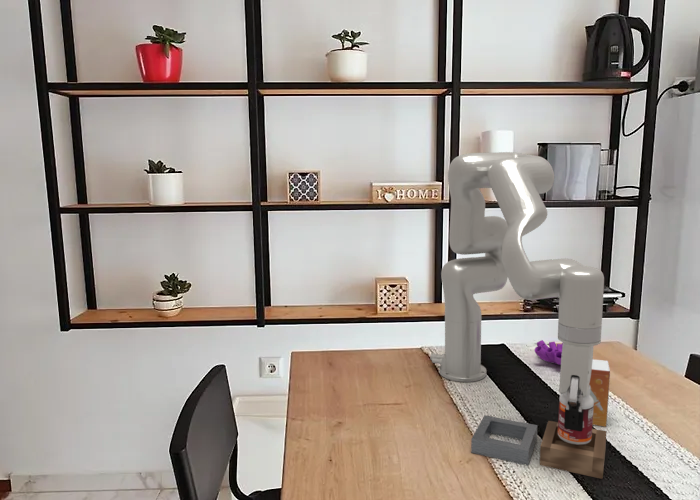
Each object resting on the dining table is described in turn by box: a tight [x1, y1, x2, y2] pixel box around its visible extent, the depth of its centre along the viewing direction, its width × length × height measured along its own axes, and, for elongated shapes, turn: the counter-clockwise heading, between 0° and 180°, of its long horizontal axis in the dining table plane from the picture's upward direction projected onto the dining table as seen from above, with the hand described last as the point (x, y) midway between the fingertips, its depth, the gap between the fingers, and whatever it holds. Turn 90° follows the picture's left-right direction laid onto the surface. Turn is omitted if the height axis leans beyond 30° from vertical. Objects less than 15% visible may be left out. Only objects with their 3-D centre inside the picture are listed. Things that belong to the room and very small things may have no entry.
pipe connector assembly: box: [534, 339, 563, 366], centre depth 155 cm, size 11×15×10 cm
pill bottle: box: [557, 385, 594, 445], centre depth 107 cm, size 6×6×11 cm
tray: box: [539, 420, 608, 480], centre depth 109 cm, size 11×11×4 cm
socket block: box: [470, 414, 538, 466], centre depth 114 cm, size 11×11×3 cm
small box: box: [589, 358, 611, 428], centre depth 123 cm, size 8×6×13 cm
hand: (575, 420), depth 107 cm, fingers closed on pill bottle, 6 cm apart
